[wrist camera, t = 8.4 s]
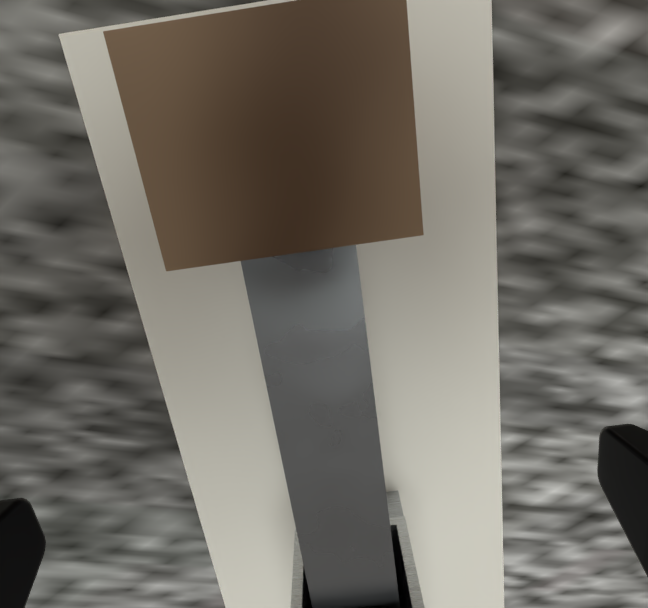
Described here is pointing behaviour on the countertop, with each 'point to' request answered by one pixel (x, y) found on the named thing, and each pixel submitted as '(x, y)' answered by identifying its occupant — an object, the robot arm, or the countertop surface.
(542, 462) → the countertop surface
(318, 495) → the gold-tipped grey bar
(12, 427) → the countertop surface
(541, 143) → the countertop surface
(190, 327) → the base board
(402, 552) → the outer sleeve
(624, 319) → the countertop surface
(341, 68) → the socket block
